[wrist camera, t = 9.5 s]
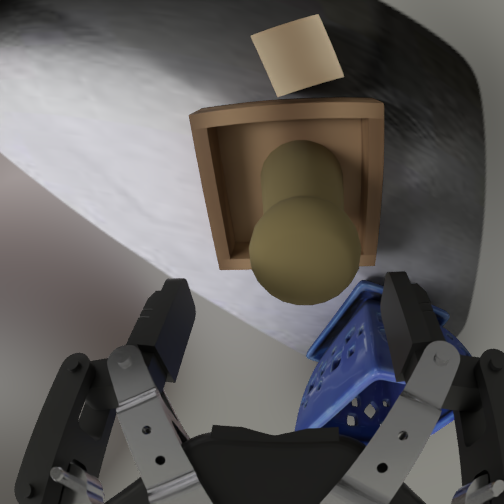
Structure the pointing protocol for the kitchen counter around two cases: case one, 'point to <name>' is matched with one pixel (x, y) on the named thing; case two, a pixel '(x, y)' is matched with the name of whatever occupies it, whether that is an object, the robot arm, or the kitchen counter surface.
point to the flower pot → (357, 369)
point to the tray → (268, 139)
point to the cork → (304, 226)
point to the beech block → (297, 55)
